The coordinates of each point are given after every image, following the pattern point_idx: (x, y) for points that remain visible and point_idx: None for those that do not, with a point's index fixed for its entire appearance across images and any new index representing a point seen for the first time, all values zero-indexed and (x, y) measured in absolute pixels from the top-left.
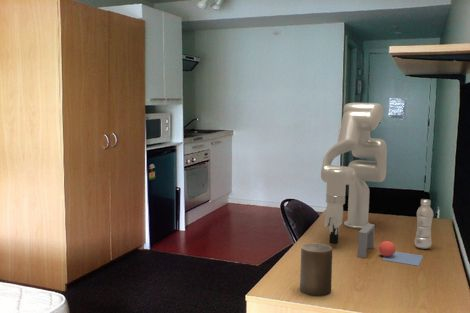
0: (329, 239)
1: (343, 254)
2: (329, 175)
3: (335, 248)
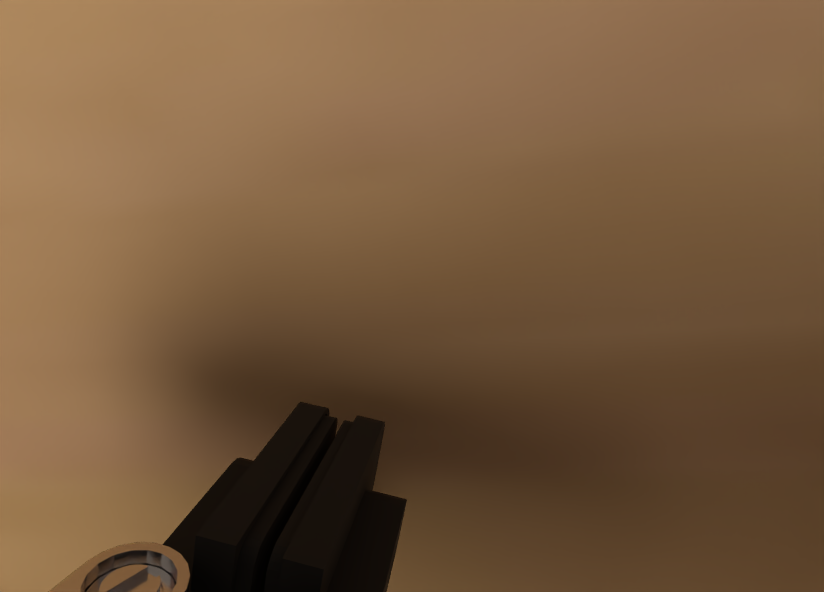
0: (275, 437)
1: (38, 580)
2: None
3: None
